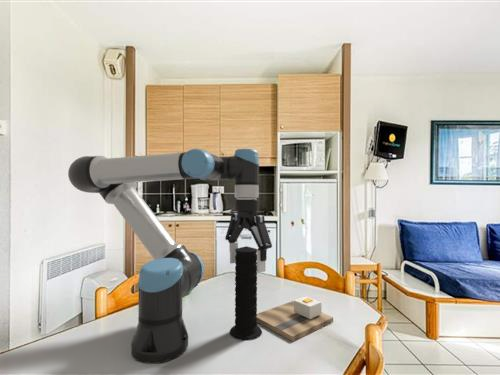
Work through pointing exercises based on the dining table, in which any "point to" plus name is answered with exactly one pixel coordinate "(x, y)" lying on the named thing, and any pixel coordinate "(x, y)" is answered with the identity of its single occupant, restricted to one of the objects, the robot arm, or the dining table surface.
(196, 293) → the dining table surface
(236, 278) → the handle grip
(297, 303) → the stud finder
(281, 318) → the subfloor panel
